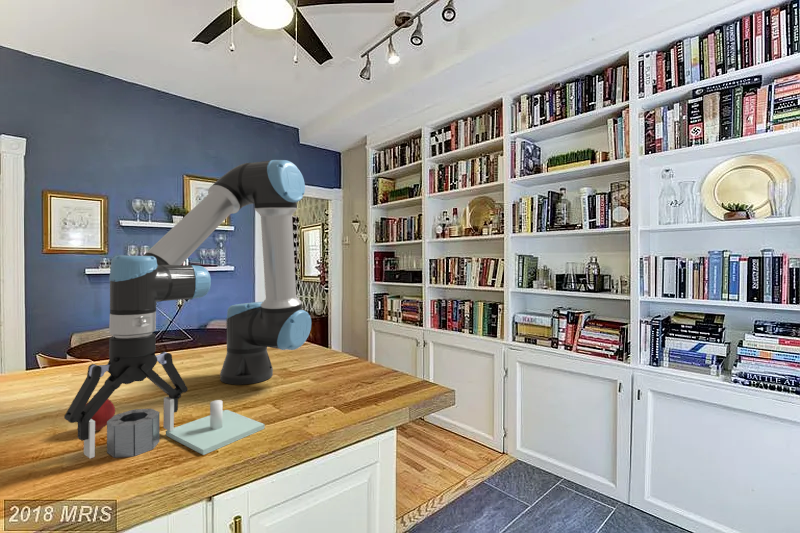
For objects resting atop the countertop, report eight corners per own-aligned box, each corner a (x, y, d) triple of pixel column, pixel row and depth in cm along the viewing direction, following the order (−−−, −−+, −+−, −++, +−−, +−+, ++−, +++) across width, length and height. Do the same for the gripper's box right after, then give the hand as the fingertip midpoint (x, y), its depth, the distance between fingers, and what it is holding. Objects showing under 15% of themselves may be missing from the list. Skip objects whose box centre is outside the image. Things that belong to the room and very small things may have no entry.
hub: (101, 449, 77) (101, 418, 77) (146, 433, 83) (146, 405, 83) (120, 461, 72) (119, 429, 72) (165, 444, 79) (165, 414, 79)
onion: (93, 424, 87) (93, 388, 87) (120, 424, 88) (120, 388, 88) (74, 436, 82) (73, 398, 81) (103, 436, 82) (103, 398, 82)
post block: (165, 435, 83) (165, 404, 83) (226, 413, 95) (226, 386, 94) (203, 455, 75) (203, 421, 75) (264, 428, 87) (264, 399, 87)
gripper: (58, 348, 64) (57, 476, 65) (205, 327, 86) (204, 424, 86) (42, 342, 69) (41, 462, 69) (187, 324, 90) (185, 416, 90)
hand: (131, 442), depth 77 cm, fingers open, 13 cm apart
